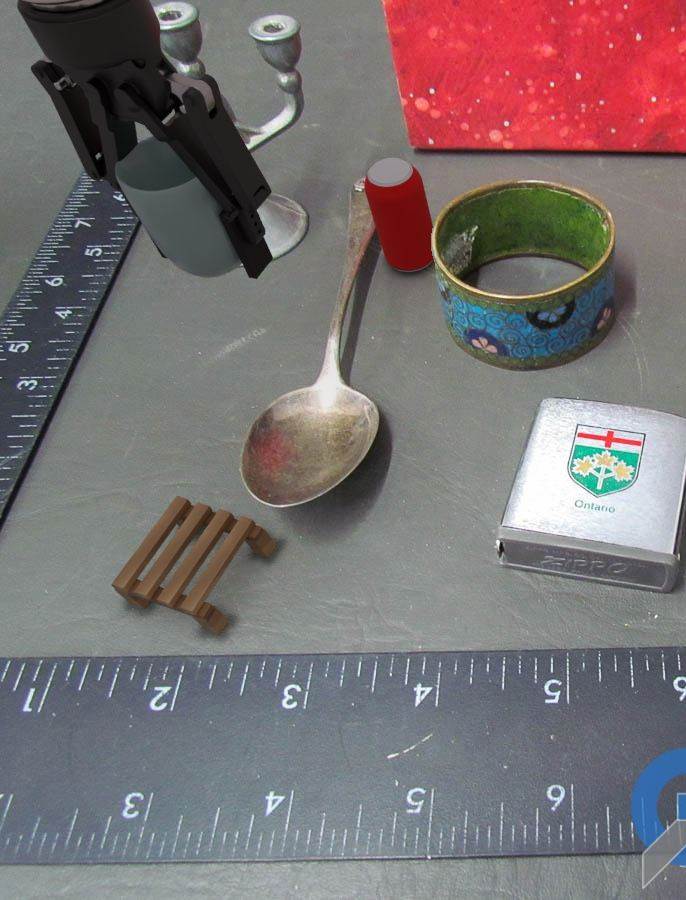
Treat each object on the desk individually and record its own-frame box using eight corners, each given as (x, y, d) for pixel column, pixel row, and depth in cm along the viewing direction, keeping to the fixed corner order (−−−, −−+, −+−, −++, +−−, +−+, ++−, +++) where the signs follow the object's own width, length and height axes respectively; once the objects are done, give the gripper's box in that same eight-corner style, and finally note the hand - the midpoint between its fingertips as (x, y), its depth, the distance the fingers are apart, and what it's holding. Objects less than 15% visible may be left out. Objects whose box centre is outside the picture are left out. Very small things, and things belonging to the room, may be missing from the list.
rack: (130, 604, 71) (104, 582, 67) (192, 518, 76) (170, 493, 72) (220, 635, 69) (198, 613, 66) (276, 545, 74) (259, 520, 70)
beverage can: (381, 276, 94) (353, 188, 84) (392, 239, 97) (367, 151, 88) (434, 277, 94) (412, 189, 84) (443, 241, 97) (424, 152, 87)
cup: (154, 264, 71) (93, 164, 63) (229, 217, 74) (181, 117, 66) (207, 304, 68) (150, 206, 60) (283, 254, 71) (239, 154, 63)
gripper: (-100, -11, 52) (89, 262, 71) (180, 37, 48) (302, 313, 67) (-16, -63, 56) (142, 208, 75) (248, -23, 52) (345, 252, 71)
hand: (217, 257), depth 71 cm, fingers closed on cup, 8 cm apart
